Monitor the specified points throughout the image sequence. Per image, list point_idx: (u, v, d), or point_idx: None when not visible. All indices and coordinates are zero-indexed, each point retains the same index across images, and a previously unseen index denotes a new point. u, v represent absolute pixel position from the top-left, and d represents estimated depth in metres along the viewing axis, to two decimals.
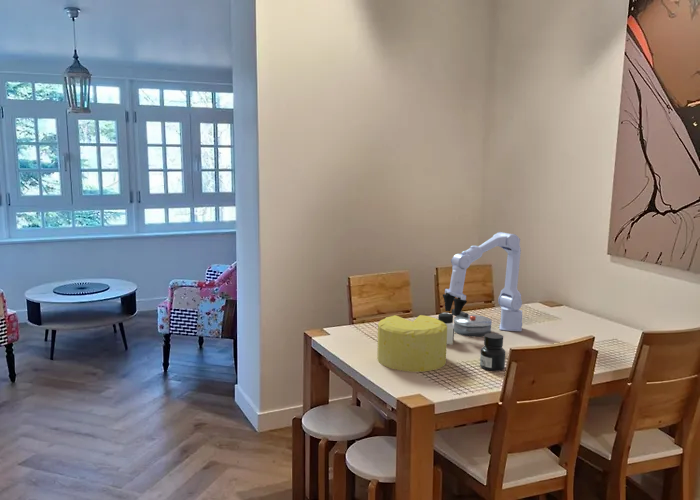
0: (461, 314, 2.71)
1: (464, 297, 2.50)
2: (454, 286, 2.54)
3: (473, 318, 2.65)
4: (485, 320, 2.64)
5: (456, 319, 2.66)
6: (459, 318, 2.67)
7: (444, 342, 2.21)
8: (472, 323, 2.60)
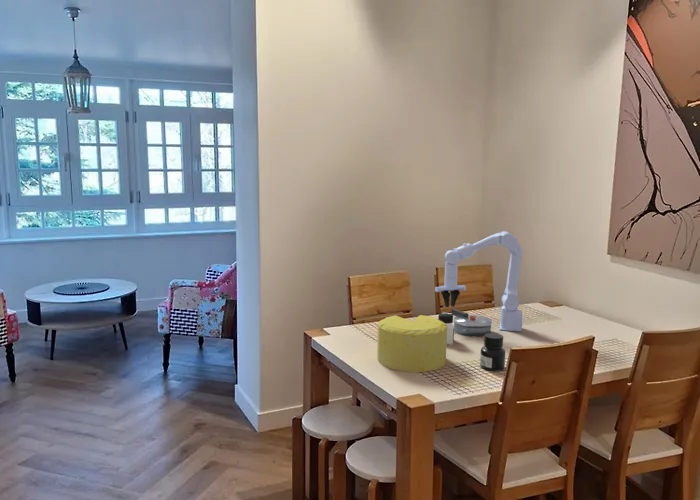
0: (461, 314, 2.71)
1: (436, 289, 2.69)
2: None
3: (473, 318, 2.65)
4: (485, 320, 2.64)
5: (456, 319, 2.66)
6: (459, 318, 2.67)
7: (444, 342, 2.21)
8: (472, 323, 2.60)
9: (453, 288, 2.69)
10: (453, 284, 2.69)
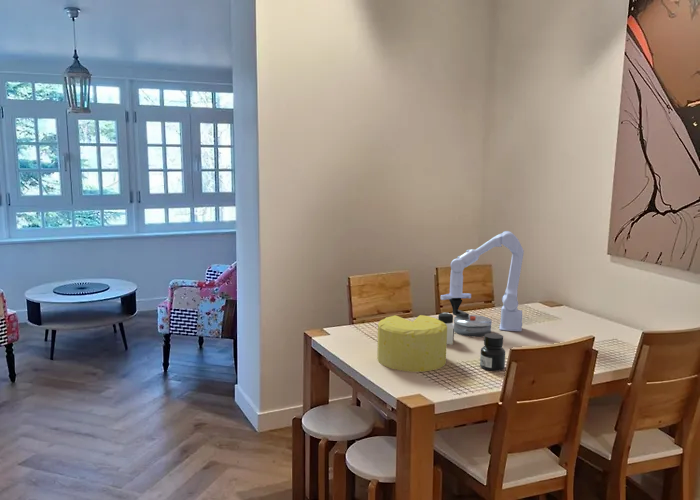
0: (461, 314, 2.71)
1: (441, 297, 2.71)
2: None
3: (473, 318, 2.65)
4: (484, 321, 2.64)
5: (456, 319, 2.66)
6: (459, 318, 2.68)
7: (444, 342, 2.21)
8: (471, 323, 2.60)
9: (458, 296, 2.71)
10: (458, 292, 2.71)
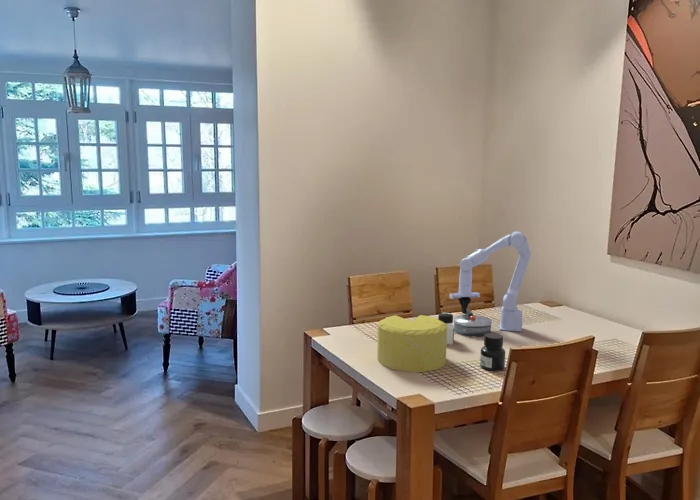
0: (467, 313, 2.72)
1: (450, 296, 2.73)
2: None
3: (472, 318, 2.65)
4: (482, 322, 2.62)
5: (456, 317, 2.69)
6: (461, 317, 2.70)
7: (444, 342, 2.21)
8: (465, 322, 2.61)
9: (467, 295, 2.72)
10: (467, 291, 2.72)
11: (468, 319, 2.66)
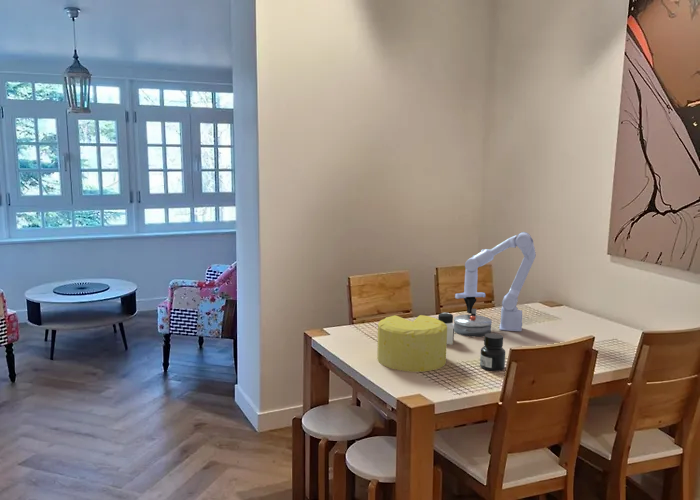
0: (471, 313, 2.73)
1: (456, 295, 2.73)
2: None
3: (471, 318, 2.65)
4: (480, 322, 2.61)
5: (458, 316, 2.70)
6: (463, 316, 2.71)
7: (444, 342, 2.21)
8: (462, 321, 2.62)
9: (473, 295, 2.73)
10: (473, 291, 2.73)
11: (468, 319, 2.66)
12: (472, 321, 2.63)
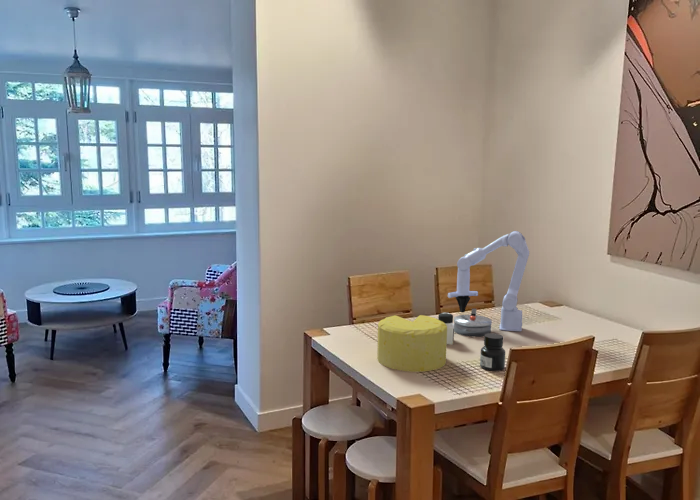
0: (471, 313, 2.73)
1: (448, 295, 2.74)
2: None
3: (471, 318, 2.65)
4: (480, 322, 2.61)
5: (458, 316, 2.70)
6: (463, 316, 2.71)
7: (444, 342, 2.21)
8: (462, 321, 2.62)
9: (466, 294, 2.73)
10: (466, 290, 2.73)
11: (468, 319, 2.66)
12: (472, 321, 2.63)
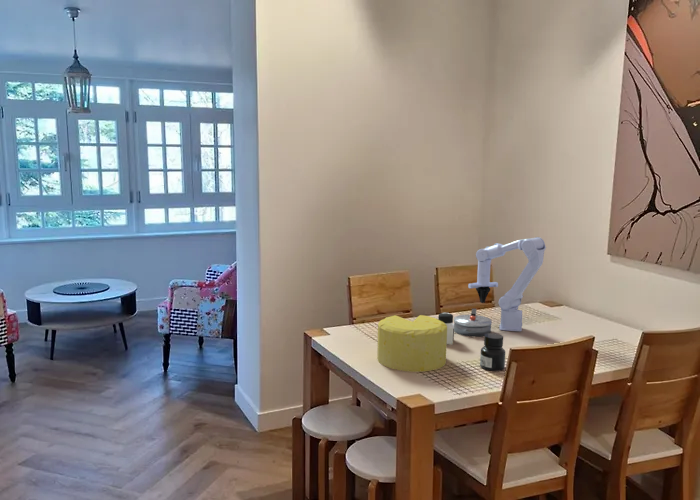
0: (471, 313, 2.73)
1: (469, 285, 2.77)
2: None
3: (471, 318, 2.65)
4: (480, 322, 2.61)
5: (458, 316, 2.70)
6: (463, 316, 2.71)
7: (444, 342, 2.21)
8: (462, 321, 2.62)
9: (486, 285, 2.77)
10: (486, 281, 2.77)
11: (468, 319, 2.66)
12: (472, 321, 2.63)
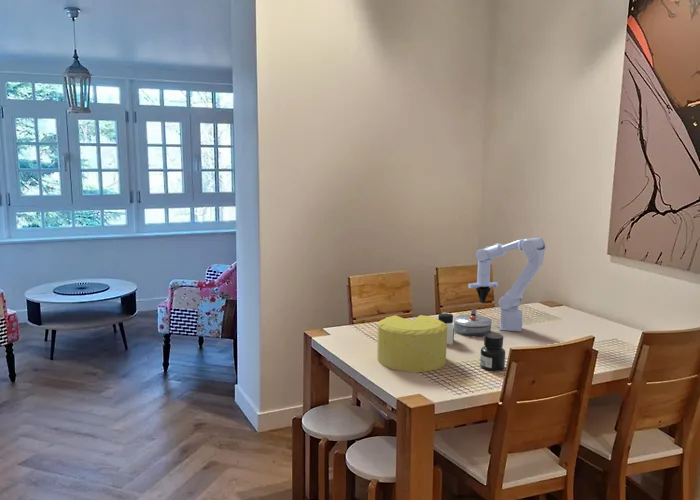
0: (471, 313, 2.73)
1: (469, 285, 2.77)
2: None
3: (471, 318, 2.65)
4: (480, 322, 2.61)
5: (458, 316, 2.70)
6: (463, 316, 2.71)
7: (444, 342, 2.21)
8: (462, 321, 2.62)
9: (486, 285, 2.77)
10: (486, 281, 2.77)
11: (468, 319, 2.66)
12: (472, 321, 2.63)
